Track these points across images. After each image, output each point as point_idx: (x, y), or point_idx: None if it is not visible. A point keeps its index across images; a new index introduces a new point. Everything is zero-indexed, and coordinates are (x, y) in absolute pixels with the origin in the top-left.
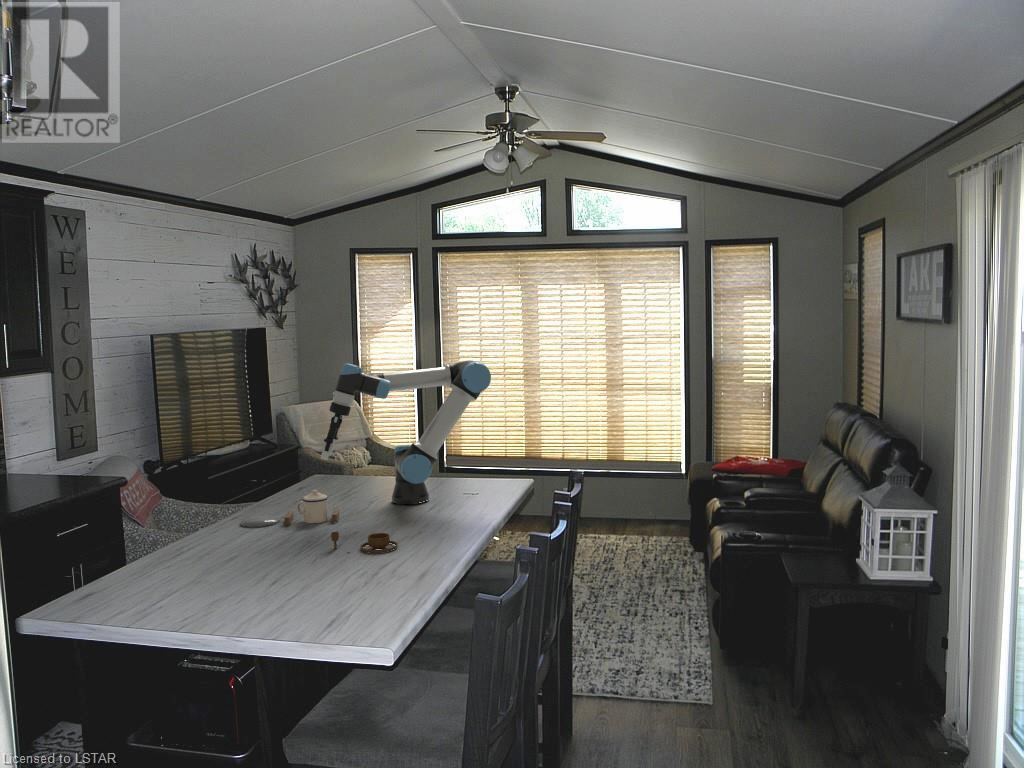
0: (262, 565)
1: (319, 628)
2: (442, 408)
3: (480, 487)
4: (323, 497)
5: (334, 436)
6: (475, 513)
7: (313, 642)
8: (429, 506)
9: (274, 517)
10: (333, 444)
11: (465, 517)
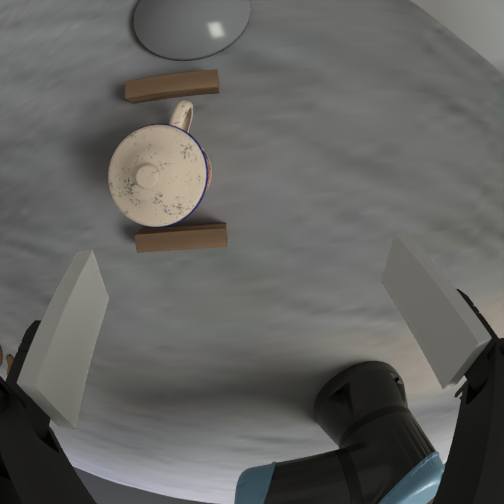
0: None
1: None
2: None
3: None
4: (130, 216)
5: (467, 405)
6: (209, 484)
7: None
8: (288, 434)
9: (214, 38)
10: (426, 350)
11: (180, 474)
